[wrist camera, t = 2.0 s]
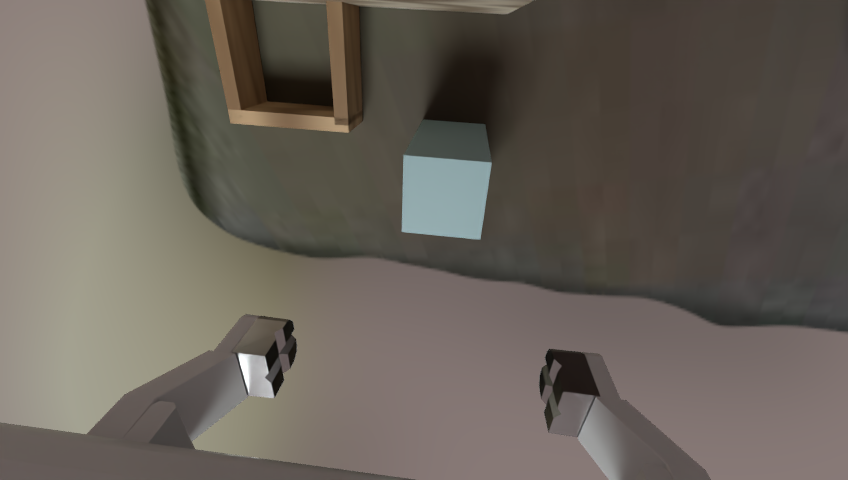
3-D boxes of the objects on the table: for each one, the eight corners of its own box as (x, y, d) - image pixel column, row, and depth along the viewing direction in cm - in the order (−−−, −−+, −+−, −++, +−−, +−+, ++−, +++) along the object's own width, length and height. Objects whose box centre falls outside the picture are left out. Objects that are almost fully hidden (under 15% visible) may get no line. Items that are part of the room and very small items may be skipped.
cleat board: (510, -12, 24) (550, -57, 12) (490, 131, 29) (505, 200, 17) (174, -29, 26) (-81, -83, 14) (207, 109, 31) (37, 157, 19)
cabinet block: (485, 124, 29) (491, 162, 20) (476, 191, 32) (478, 250, 23) (423, 119, 29) (403, 155, 21) (419, 186, 32) (401, 242, 24)
